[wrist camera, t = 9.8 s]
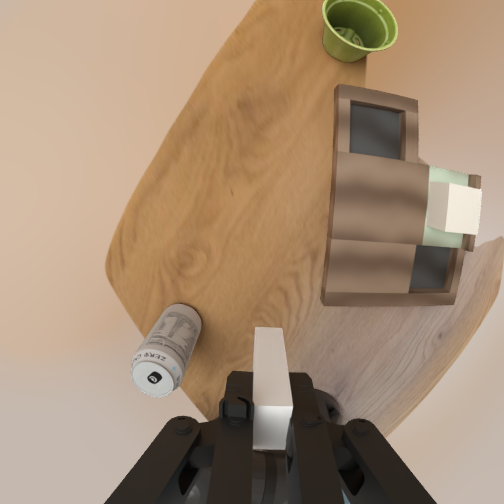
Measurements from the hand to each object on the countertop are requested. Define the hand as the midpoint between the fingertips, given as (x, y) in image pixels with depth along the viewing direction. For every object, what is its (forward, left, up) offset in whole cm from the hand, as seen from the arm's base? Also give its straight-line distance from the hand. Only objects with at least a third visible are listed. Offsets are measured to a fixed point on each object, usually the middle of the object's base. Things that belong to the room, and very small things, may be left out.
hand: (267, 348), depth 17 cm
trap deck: (+8, -19, -24) cm, 32 cm away
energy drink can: (-11, +11, -25) cm, 29 cm away
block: (+8, -25, -22) cm, 34 cm away
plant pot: (+30, -10, -25) cm, 40 cm away
